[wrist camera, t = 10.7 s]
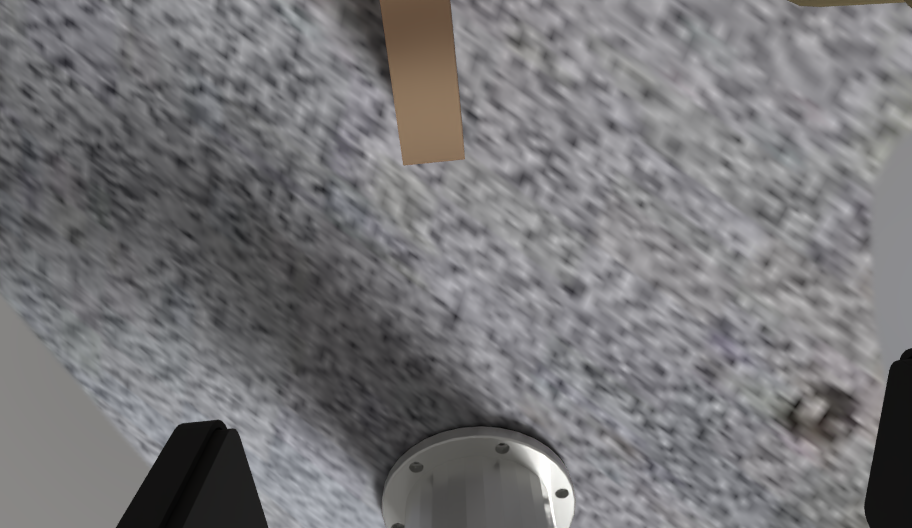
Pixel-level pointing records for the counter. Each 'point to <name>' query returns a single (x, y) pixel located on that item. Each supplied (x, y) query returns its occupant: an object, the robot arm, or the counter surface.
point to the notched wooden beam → (424, 79)
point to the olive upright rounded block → (845, 2)
